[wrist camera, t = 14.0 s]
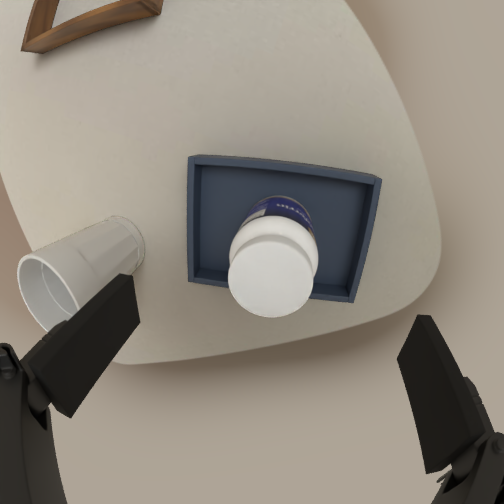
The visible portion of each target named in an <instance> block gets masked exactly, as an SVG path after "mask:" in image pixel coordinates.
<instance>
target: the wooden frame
mask: <svg viewBox="0 0 504 504" xmlns="http://www.w3.org/2000/svg"><path fill="white" fill-rule="evenodd" d="M58 2H59V0H35V1H34V4H33V7H32V10H31V13H30V17H29V20H28V23H27V27H26V31H25V35H24V39H23V43H22V48H21V51H24V52H33V53H41V54H43V53H45V52H47V51H49V50H51V49H53V48H56V47H58V46H60V45H62V44H65V43H67V42H69V41H72V40H74V39H77V38H79V37H82V36H85V35H87V34H90V33H93V32H96V31H99V30H102V29H105V28H108V27H111V26H115V25H118V24H121V23H125V22H129V21H133V20H137V19H141V18H145V17H150V16H155V15H160V14H161V9H162V4H163V0H120V1H117V2H114V3H111V4H108V5H105V6H102V7H100V8H97V9H94V10H92V11H89V12H87V13H84V14H82V15H80V16H77V17H75V18H73V19H71V20H69V21H66V22H64V23H62V24H60V25H58V26H56V27H54V28H52V29H51V27H52V23H53V19H54V16H55V12H56V9H57V6H58Z"/></svg>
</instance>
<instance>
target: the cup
mask: <svg viewBox="0 0 504 504" xmlns="http://www.w3.org/2000/svg"><path fill="white" fill-rule="evenodd" d="M144 255H145V246H144V241H143V238H142V236H141V234H140V232H139V230H138V229H137V228H136V226H135V225H134V224H133V223H132V222H130V221H129V220H127V219H125V218H123V217H119V216H113V217H109V218H107V219H106V220H104V221H102V222H100V223H97V224H95V225H92V226H90V227H88V228H85V229H83V230H81V231H78V232H76V233H74V234H72V235H69V236H67V237H65V238H63V239H61V240H58V241H56V242H54V243H52V244H49V245H47V246H45V247H43V248H41V249H38V250H36V251H34V252H32V253H30V254H28V255H26V256H24V257H23V258H22V259H21V260H20V262H19V265H18V270H17V278H18V284H19V288H20V291H21V295H22V297H23V299H24V302H25V303H26V306H27V307H28V309H29V311H30V312H31V314H32V315H33V317H34V318H35V319H36V321H37V322H38V323H39V324H40V325H41V326H42V327H43V328H44V329H45V330H46V331H47V332H49V331H50V330H51V329H52V328H53V327H54V326H55V325H56V324H58V323H60V322H62V321H64V320H67V321H68V320H69V319H70V318H71V317H72V316H73V315H74V314H75V313H76V312H78V311H79V310H80V309H81V308H82V307H83V306H84V305H85V304H86V303H87V302H88V301H89V300H90V299H91V298H92V297H94V296H95V295H96V294H97V293H98V292H99V291H100V290H101V289H102V288H103V287H104V286H106V285H107V284H108V283H109V282H110V281H111V280H112V279H113V278H115V277H116V276H117V275H118V274H119V273H122V274H127V275H131V274H132V272H133V271H134V270H135V269H136V268H137V267H138V266H139V265H140V264H141V263H142V261H143V259H144Z"/></svg>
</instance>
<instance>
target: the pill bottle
mask: <svg viewBox="0 0 504 504" xmlns="http://www.w3.org/2000/svg"><path fill="white" fill-rule="evenodd" d="M229 260H230V268H229V272H228V284H229V288H230V291H231V293H232V295H233V297H234V299H235V300H236V301H237V302H238V303H239V304H240V305H241V306H242V307H243V308H244V309H246V310H247V311H249V312H251V313H253V314H255V315H259V316H262V317H270V318H273V317H282V316H286V315H289V314H291V313H293V312H295V311H297V310H298V309H299V308H300V307H302V306H303V305H304V304H305V302H306V301H307V300H308V298H309V296H310V294H311V291H312V288H313V278H314V276H315V273H316V271H317V267H318V249H317V244H316V240H315V235H314V230H313V226H312V222H311V219H310V216H309V214H308V212H307V210H306V209H305V208H304V207H303V206H302V205H301V204H300V203H299V202H297V201H296V200H294V199H292V198H289V197H286V196H271V197H267V198H265V199H263V200H261V201H259V202H258V203H257V204H255V205H254V206H253V208H252V209H251V210H250V212H249V213H248V215H247V217H246V218H245V220H244V222H243V223H242V225H241V227H240V228H239V230H238V232H237V233H236V235H235V237H234V239H233V242H232V244H231V248H230V254H229Z"/></svg>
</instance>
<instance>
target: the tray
mask: <svg viewBox="0 0 504 504" xmlns="http://www.w3.org/2000/svg"><path fill="white" fill-rule="evenodd" d="M381 183H382V179H381V178H379V177H377V176H375V175H373V174H368V173H362V172H357V171H351V170H345V169H339V168H333V167H327V166H320V165H313V164H305V163H298V162H289V161H280V160H271V159H261V158H249V157H236V156H220V155H194V156H190V157H188V174H187V261H188V282H193V283H199V284H206V285H212V286H219V287H226V288H229V284H228V272H229V268H230V260H229V254H230V248H231V244H232V242H233V239H234V237H235V235H236V233H237V232H238V230H239V228H240V227H241V225H242V223H243V222H244V220H245V218H246V217H247V215H248V213H249V212H250V210H251V209H252V208H253V206H254V205H255V204H257V203H258V202H259V201H261V200H263V199H265V198H267V197H271V196H286V197H289V198H292V199H294V200H296V201H297V202H299V203H300V204H301V205H302V206H303V207H304V208H305V209H306V210H307V212H308V214H309V216H310V219H311V222H312V226H313V230H314V235H315V240H316V244H317V249H318V267H317V271H316V273H315V276H314V278H313V288H312V291H311V294H310V296H309V298H310V299H319V300H328V301H338V302H348V303H354V300H355V296H356V293H357V289H358V286H359V282H360V279H361V275H362V271H363V268H364V264H365V260H366V256H367V252H368V248H369V243H370V239H371V235H372V230H373V225H374V221H375V216H376V211H377V206H378V200H379V195H380V189H381Z"/></svg>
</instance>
